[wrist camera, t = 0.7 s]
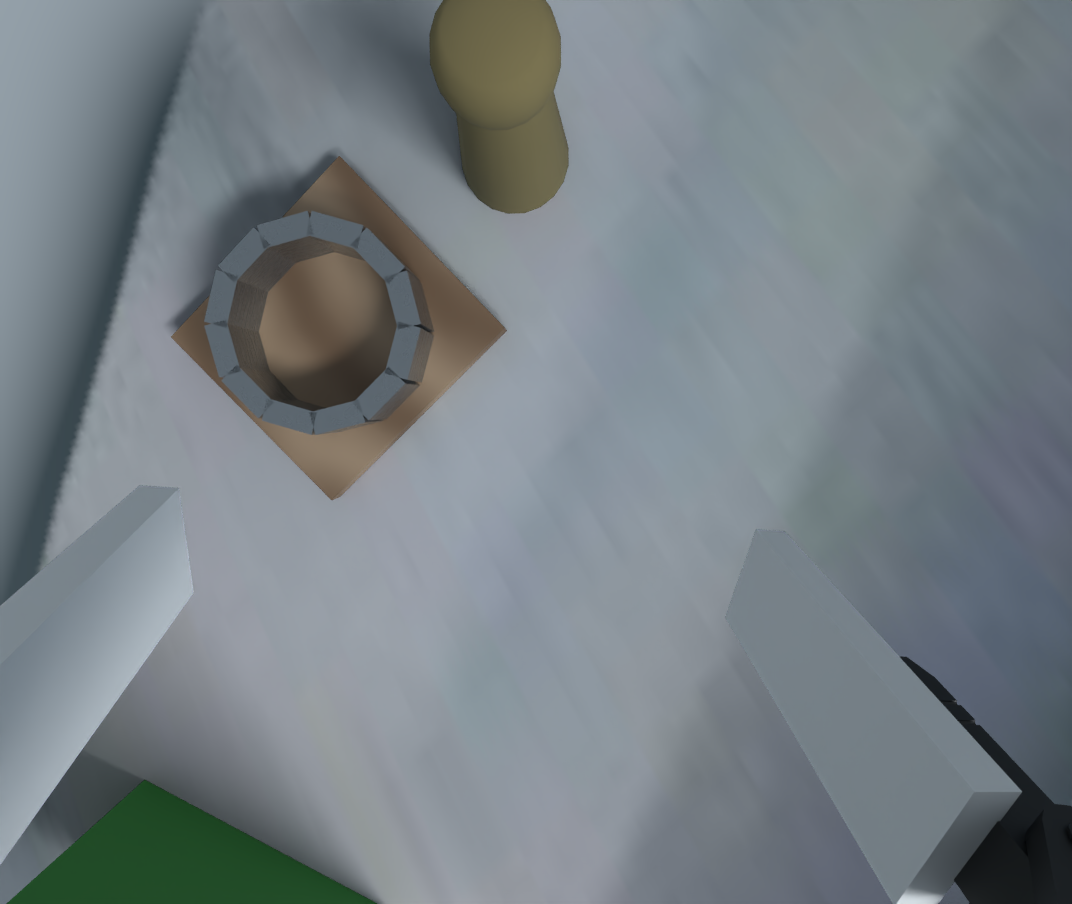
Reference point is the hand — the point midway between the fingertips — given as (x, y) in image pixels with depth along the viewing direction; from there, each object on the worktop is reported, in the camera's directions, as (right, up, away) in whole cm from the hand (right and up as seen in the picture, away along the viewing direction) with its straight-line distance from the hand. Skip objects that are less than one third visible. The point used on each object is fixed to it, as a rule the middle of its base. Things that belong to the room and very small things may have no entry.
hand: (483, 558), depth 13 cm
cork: (0, +19, +18) cm, 26 cm away
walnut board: (-10, +9, +19) cm, 24 cm away
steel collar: (-10, +9, +18) cm, 23 cm away
